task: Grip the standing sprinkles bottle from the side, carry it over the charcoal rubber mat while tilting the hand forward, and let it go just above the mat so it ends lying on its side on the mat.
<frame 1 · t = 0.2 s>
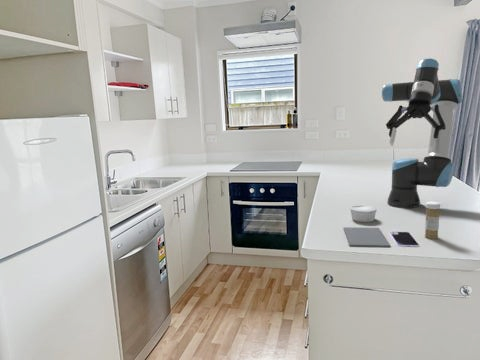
hand: (410, 145, 131), 35 cm above the table, tool tilted 35°, fingers open, 13 cm apart
ramekin: (363, 219, 159), on the table
sprinkles bottle: (431, 237, 133), on the table
mobile phone: (403, 240, 133), on the table
charcoal mat: (365, 237, 137), on the table
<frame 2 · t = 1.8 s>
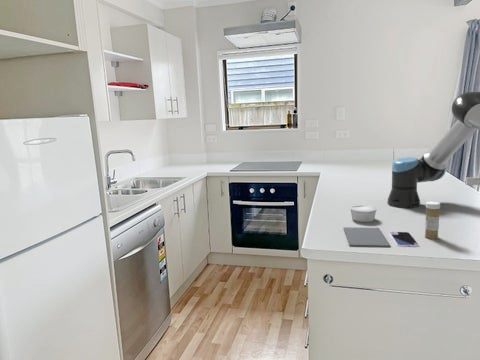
hand: (474, 184, 127), 20 cm above the table, tool horizontal, fingers open, 13 cm apart
nothing on the table moved.
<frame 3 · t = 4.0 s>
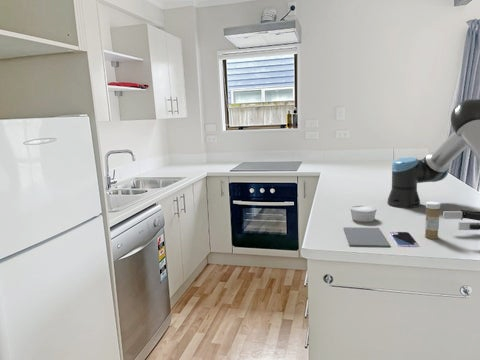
hand: (450, 220, 131), 7 cm above the table, tool horizontal, fingers open, 13 cm apart
nothing on the table moved.
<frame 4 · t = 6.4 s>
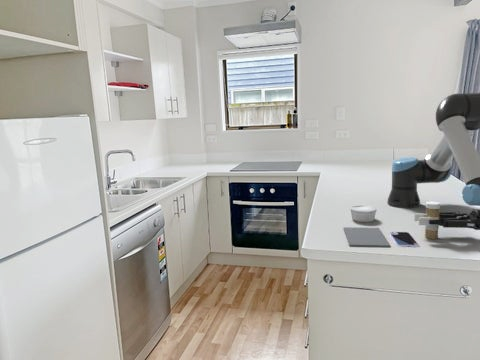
hand: (416, 219, 133), 7 cm above the table, tool horizontal, fingers closed on sprinkles bottle, 4 cm apart
sprinkles bottle: (431, 237, 133), on the table, touching gripper
everything else where it was.
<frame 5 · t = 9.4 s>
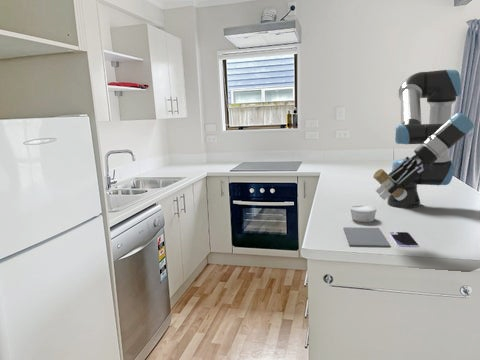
hand: (379, 195, 133), 17 cm above the table, tool tilted 45°, fingers closed on sprinkles bottle, 4 cm apart
sprinkles bottle: (377, 172, 131), point 25 cm above the table, touching gripper
everything else where it was.
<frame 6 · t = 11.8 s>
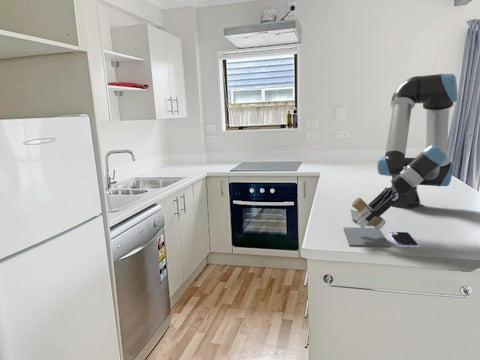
hand: (358, 223, 136), 5 cm above the table, tool tilted 45°, fingers closed on sprinkles bottle, 4 cm apart
sprinkles bottle: (355, 200, 135), point 14 cm above the table, touching gripper
everything else where it was.
when the fingers open (5 cm above the table, at t = 12.6 s): sprinkles bottle drops 11 cm, resting on charcoal mat.
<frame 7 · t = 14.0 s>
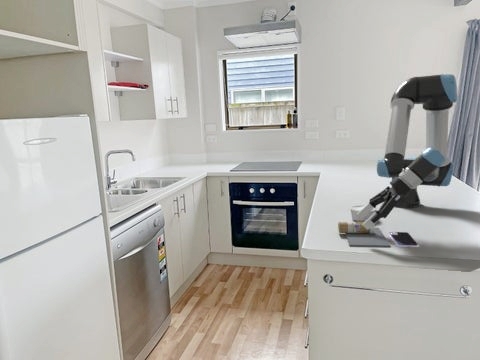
hand: (361, 221, 136), 6 cm above the table, tool tilted 45°, fingers open, 13 cm apart
sprinkles bottle: (338, 227, 141), point 3 cm above the table, touching charcoal mat
everything else where it was.
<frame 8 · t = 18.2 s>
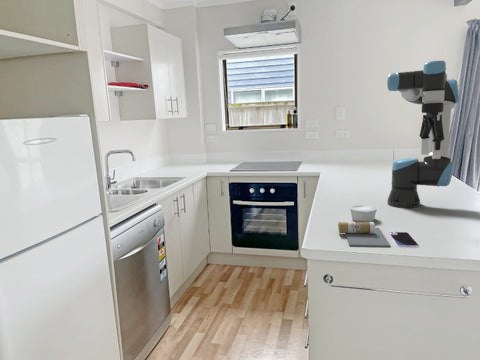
hand: (429, 156, 142), 29 cm above the table, tool pointing down, fingers open, 13 cm apart
nothing on the table moved.
at the end: sprinkles bottle tilted 89°; sprinkles bottle inside the target area (8.8 cm from its centre), point 2.6 cm above the table; the gripper is holding nothing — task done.
